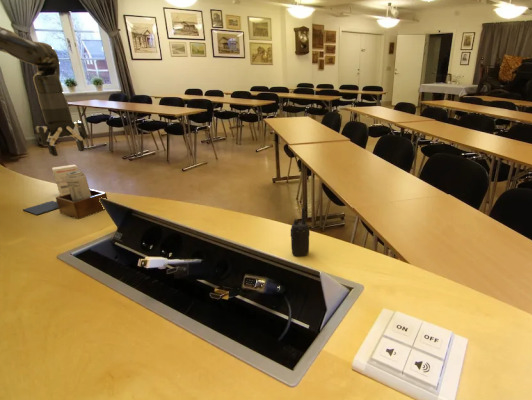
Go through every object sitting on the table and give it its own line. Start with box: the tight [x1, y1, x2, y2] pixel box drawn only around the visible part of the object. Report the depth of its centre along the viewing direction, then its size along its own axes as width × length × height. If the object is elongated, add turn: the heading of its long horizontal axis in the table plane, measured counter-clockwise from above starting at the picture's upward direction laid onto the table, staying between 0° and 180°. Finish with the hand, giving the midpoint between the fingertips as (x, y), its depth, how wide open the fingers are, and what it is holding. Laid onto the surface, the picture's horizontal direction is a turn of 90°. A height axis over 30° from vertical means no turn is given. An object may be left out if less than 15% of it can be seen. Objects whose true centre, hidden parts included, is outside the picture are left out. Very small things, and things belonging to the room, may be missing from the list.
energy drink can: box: [66, 170, 91, 202], centre depth 121 cm, size 6×6×15 cm
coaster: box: [22, 200, 59, 216], centre depth 125 cm, size 10×10×1 cm
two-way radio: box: [290, 206, 310, 257], centre depth 92 cm, size 6×4×15 cm
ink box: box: [51, 164, 80, 196], centre depth 140 cm, size 8×5×12 cm, turn 134°
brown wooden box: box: [55, 188, 108, 220], centre depth 123 cm, size 12×12×6 cm
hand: (68, 153), depth 115 cm, fingers open, 8 cm apart
